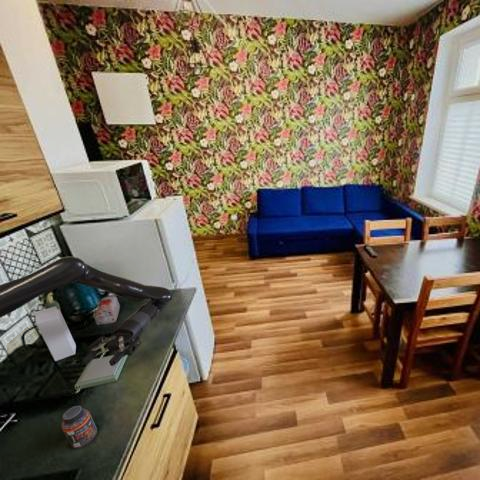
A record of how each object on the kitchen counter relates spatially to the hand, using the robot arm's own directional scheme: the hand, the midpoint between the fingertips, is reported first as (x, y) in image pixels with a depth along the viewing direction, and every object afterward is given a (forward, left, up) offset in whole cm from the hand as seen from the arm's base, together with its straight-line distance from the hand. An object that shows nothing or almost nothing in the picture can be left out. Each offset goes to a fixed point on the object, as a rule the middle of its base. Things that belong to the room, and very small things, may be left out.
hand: (97, 363), depth 81 cm
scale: (-8, +14, -17) cm, 24 cm away
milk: (-26, +29, -18) cm, 43 cm away
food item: (-18, +50, -18) cm, 56 cm away
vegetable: (-34, +45, -18) cm, 59 cm away
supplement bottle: (-4, -11, -18) cm, 21 cm away
